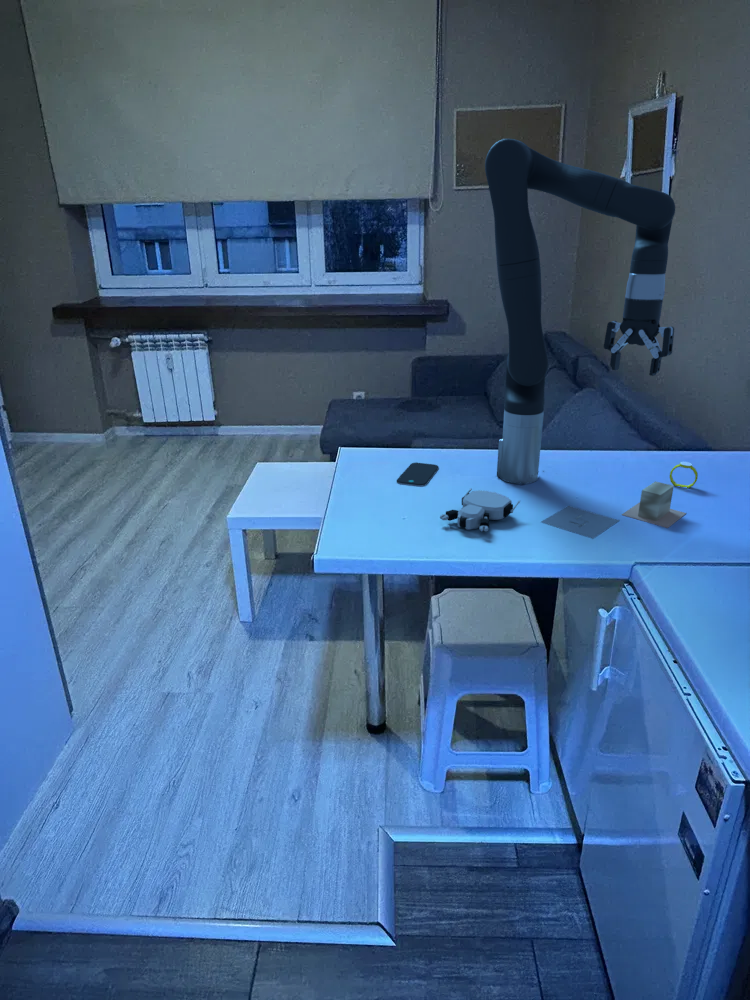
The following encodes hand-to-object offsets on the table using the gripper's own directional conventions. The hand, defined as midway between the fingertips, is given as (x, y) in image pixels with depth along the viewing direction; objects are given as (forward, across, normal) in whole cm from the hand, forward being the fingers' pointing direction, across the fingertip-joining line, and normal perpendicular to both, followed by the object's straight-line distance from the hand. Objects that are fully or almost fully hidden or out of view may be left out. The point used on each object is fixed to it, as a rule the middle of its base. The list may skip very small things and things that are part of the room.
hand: (633, 372), depth 150 cm
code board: (+28, +2, -22) cm, 36 cm away
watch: (+28, +10, +13) cm, 33 cm away
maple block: (+28, +12, -8) cm, 31 cm away
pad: (+28, +12, -8) cm, 32 cm away
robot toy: (+28, -14, -36) cm, 48 cm away
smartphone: (+29, -42, -23) cm, 56 cm away
